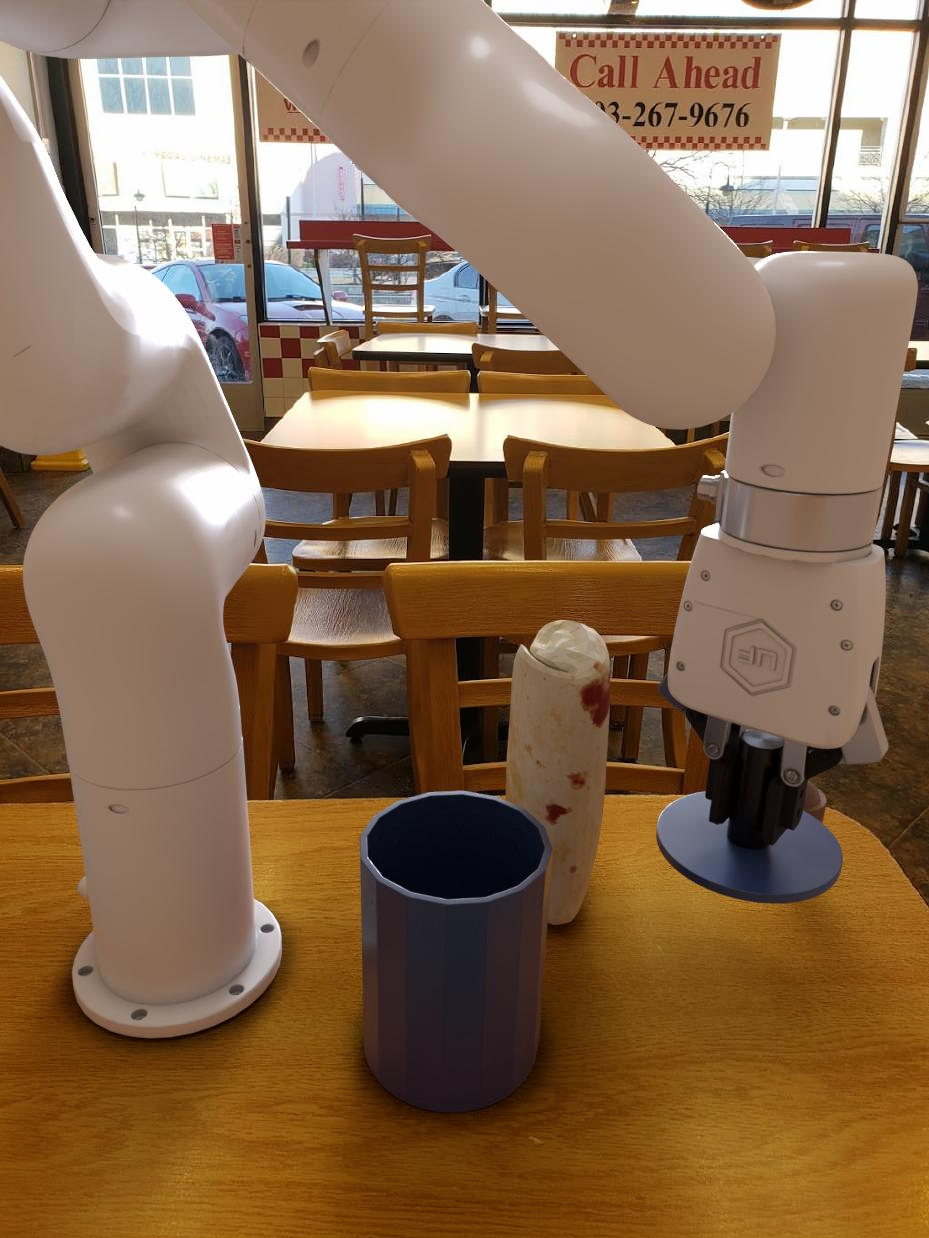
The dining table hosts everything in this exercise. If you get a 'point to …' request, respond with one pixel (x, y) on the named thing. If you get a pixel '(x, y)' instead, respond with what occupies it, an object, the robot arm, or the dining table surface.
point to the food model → (561, 751)
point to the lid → (749, 837)
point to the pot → (453, 947)
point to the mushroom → (815, 802)
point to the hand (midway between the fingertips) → (750, 821)
